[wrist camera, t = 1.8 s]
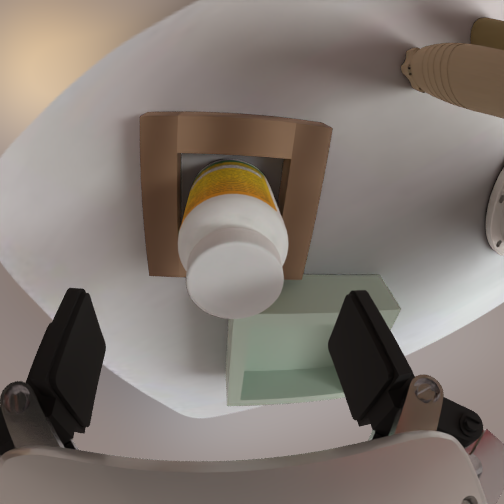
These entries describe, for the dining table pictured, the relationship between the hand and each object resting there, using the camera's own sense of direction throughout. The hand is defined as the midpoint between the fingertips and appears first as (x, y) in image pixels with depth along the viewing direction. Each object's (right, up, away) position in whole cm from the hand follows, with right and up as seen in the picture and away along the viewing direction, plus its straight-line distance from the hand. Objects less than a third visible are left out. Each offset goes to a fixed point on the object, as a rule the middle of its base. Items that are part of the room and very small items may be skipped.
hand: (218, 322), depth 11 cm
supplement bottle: (0, +6, +10) cm, 12 cm away
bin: (+5, -5, +17) cm, 19 cm away
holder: (0, +6, +10) cm, 12 cm away
